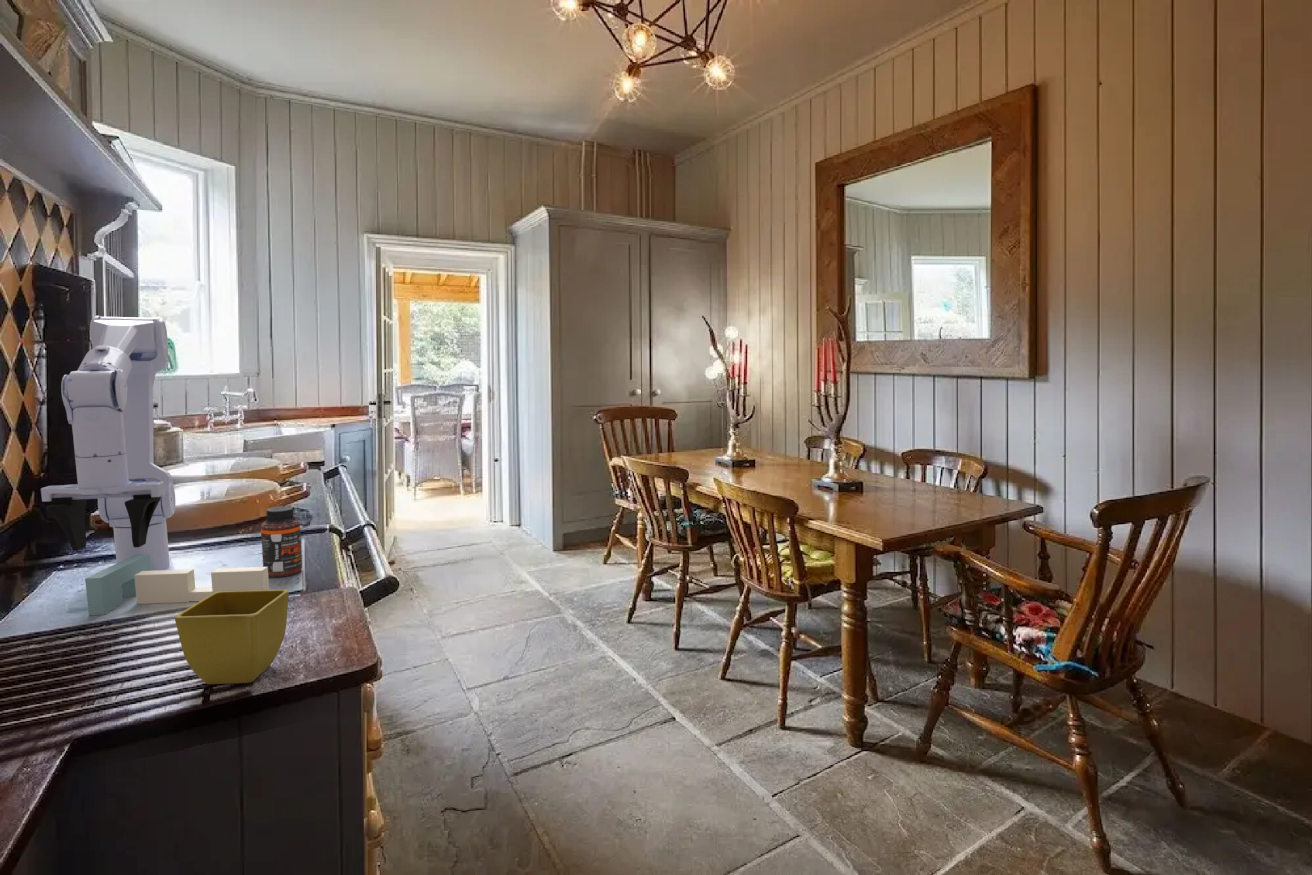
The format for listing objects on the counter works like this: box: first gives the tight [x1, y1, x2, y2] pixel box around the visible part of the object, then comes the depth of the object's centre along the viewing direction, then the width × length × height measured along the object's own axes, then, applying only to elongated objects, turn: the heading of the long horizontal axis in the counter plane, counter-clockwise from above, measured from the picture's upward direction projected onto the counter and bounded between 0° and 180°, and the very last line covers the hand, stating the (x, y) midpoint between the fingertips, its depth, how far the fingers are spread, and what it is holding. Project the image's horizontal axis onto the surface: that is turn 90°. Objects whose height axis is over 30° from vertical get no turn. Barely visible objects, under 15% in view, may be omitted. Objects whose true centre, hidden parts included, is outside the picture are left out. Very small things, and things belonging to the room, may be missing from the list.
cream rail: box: [134, 566, 270, 605], centre depth 105 cm, size 18×2×4 cm, turn 98°
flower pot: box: [174, 589, 290, 685], centre depth 81 cm, size 9×9×9 cm
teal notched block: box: [84, 554, 151, 616], centre depth 105 cm, size 12×2×6 cm, turn 8°
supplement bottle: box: [260, 505, 303, 578], centre depth 118 cm, size 6×6×11 cm
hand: (109, 547), depth 100 cm, fingers open, 7 cm apart
